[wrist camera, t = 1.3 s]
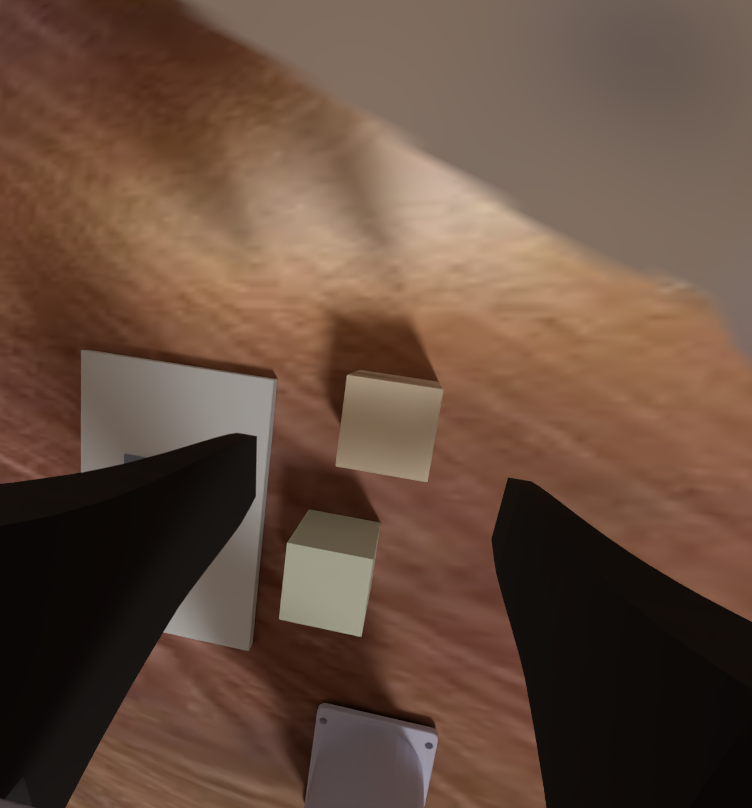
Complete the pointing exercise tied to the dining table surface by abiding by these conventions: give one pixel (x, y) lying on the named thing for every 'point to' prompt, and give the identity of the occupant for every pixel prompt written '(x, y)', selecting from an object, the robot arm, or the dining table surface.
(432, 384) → the birch block
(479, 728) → the dining table surface
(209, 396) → the white flat board
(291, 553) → the sage block
